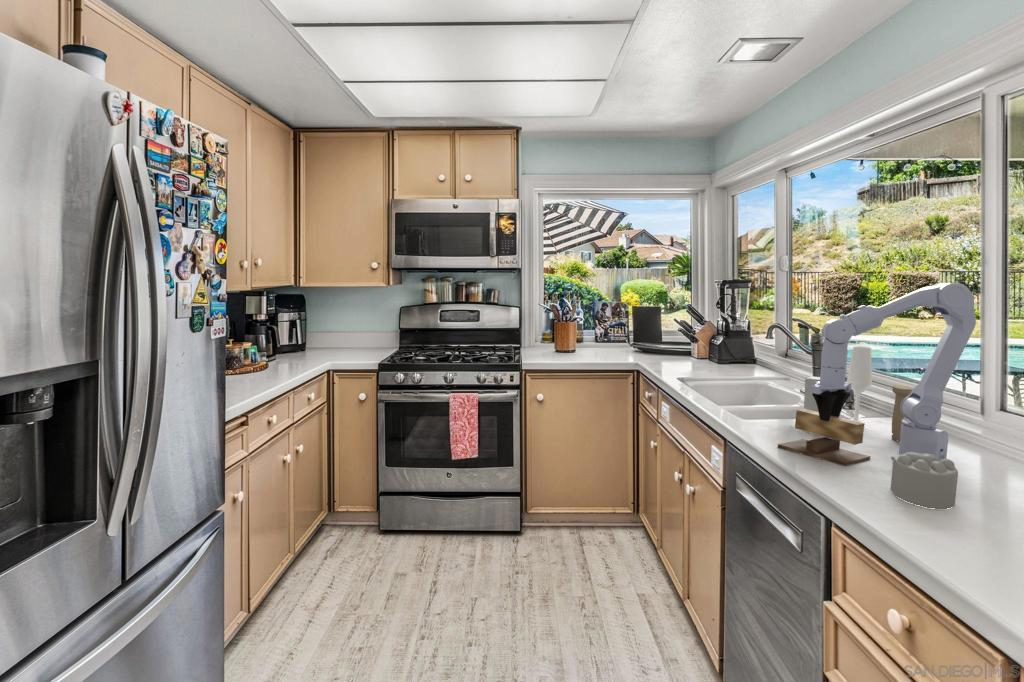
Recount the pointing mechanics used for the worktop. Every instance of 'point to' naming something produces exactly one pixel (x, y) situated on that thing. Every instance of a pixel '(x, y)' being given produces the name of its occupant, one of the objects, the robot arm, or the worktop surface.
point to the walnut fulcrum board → (824, 450)
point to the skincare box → (810, 394)
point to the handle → (898, 409)
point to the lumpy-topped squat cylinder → (924, 480)
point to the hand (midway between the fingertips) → (829, 419)
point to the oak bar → (830, 426)
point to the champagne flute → (860, 374)
